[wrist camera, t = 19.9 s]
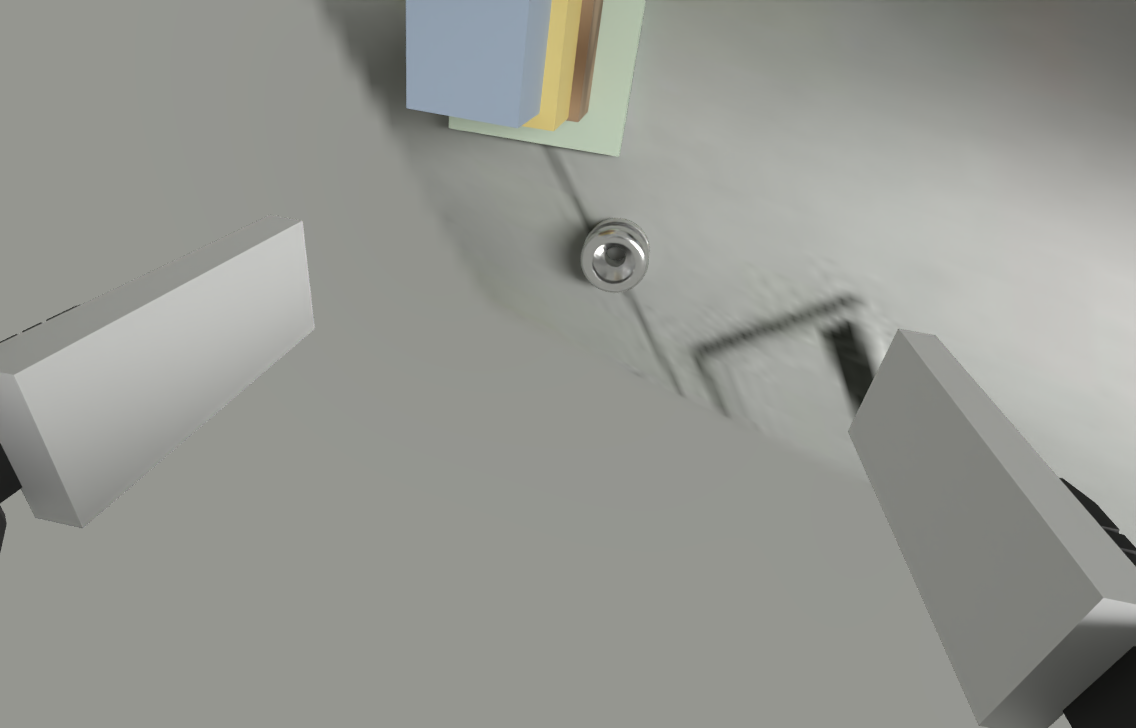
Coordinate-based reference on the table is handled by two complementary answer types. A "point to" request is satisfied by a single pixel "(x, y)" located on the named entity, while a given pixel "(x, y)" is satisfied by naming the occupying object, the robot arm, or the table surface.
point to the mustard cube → (558, 65)
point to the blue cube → (477, 58)
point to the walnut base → (585, 58)
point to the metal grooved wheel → (608, 270)
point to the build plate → (607, 91)
